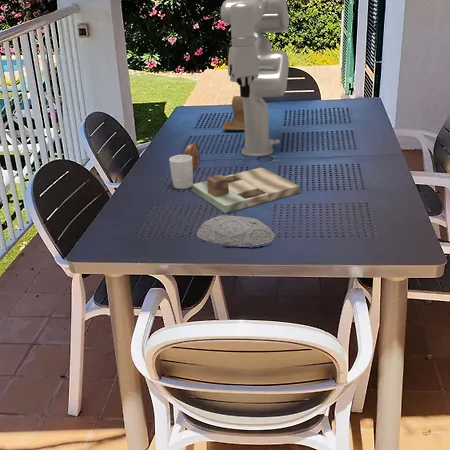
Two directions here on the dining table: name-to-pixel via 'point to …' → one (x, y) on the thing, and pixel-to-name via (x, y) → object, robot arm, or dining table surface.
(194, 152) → the tin
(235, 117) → the brown l-shaped block
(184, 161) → the white cup
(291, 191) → the board
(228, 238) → the embossed grey dome
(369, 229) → the dining table surface
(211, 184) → the walnut block
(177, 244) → the dining table surface
